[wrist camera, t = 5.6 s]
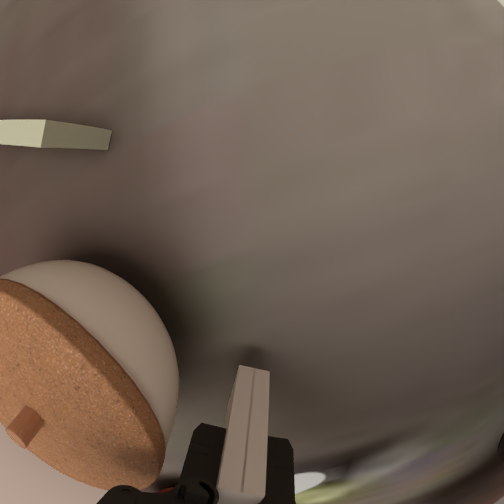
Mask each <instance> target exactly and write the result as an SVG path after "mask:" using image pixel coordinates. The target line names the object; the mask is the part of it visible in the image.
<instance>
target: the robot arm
mask: <svg viewBox="0 0 504 504" xmlns="http://www.w3.org/2000/svg"><path fill="white" fill-rule="evenodd" d="M269 380H270V371H265V370H261V369H256V368H251V367H247V366H243V365H239V367H238V371H237V374H236V378H235V381H234V384H233V388H232V391H231V394H230V398H229V401H228V405H227V410H226V415H225V420H224V426H223V428H221V427H217V426H212V425H208V424H205V423H201V424H200V425H199V426H198V427H197V428H196V429H195V430H194V431H193V435H192V438H191V442H190V445H189V448H188V452H187V455H186V459H185V462H184V466H183V469H182V473H181V476H180V480H179V482H178V483H177V485H176V486H175V487H174V488H173V489H171V490H170V491H167V492H164V493H148V492H141V491H140V490H138V489H137V488H135V487H132V486H130V485H118V486H114V487H113V488H111V489H110V490H109V491H108V492H107V493H106V494H105V495H104V496H103V497H102V498H101V499H100V501H99V502H98V503H97V504H296V503H295V487H294V470H293V469H294V462H293V460H294V458H293V448H292V446H291V444H290V442H289V440H288V439H284V438H277V437H270V436H268V413H269ZM498 452H499V454H500V456H501V457H502V459H503V461H504V436H503V437H502V439H501V442H500V444H499V448H498Z"/></svg>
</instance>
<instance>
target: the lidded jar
mask: <svg viewBox="0 0 504 504" xmlns="http://www.w3.org/2000/svg"><path fill="white" fill-rule="evenodd" d="M178 396H179V370H178V364H177V359H176V354H175V350H174V346H173V344H172V341H171V338H170V336H169V334H168V331H167V329H166V328H165V326H164V324H163V322H162V320H161V318H160V317H159V315H158V314H157V312H156V311H155V309H154V308H153V306H152V305H151V304H150V303H149V302H148V301H147V300H146V298H145V297H144V296H143V295H142V294H141V293H140V292H139V291H138V290H136V289H135V288H134V287H133V286H132V285H131V284H129V283H128V282H127V281H125V280H124V279H122V278H121V277H119V276H117V275H116V274H114V273H112V272H110V271H108V270H106V269H104V268H102V267H99V266H96V265H93V264H91V263H85V262H80V261H73V260H53V261H44V262H40V263H36V264H32V265H29V266H25V267H22V268H18V269H16V270H13V271H11V272H9V273H6V274H4V275H2V276H0V422H1V423H2V424H3V426H4V427H5V428H6V432H7V434H8V435H9V436H10V438H11V439H12V440H13V441H14V442H15V443H17V444H18V445H19V446H21V447H22V448H27V449H28V450H29V451H31V452H32V453H33V454H34V455H36V456H37V457H38V458H40V459H41V460H42V461H44V462H45V463H47V464H48V465H50V466H51V467H53V468H54V469H56V470H58V471H60V472H61V473H63V474H65V475H67V476H69V477H71V478H73V479H75V480H77V481H80V482H82V483H85V484H88V485H91V486H94V487H97V488H100V489H104V490H110V489H111V488H113V487H114V486H118V485H130V486H132V487H135V488H137V489H138V490H141V489H144V488H147V487H149V486H150V485H151V484H152V483H154V482H155V481H156V479H157V477H158V476H159V474H160V471H161V469H162V466H163V463H164V459H165V451H166V445H167V443H168V440H169V437H170V434H171V431H172V428H173V424H174V419H175V414H176V408H177V403H178Z"/></svg>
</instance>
